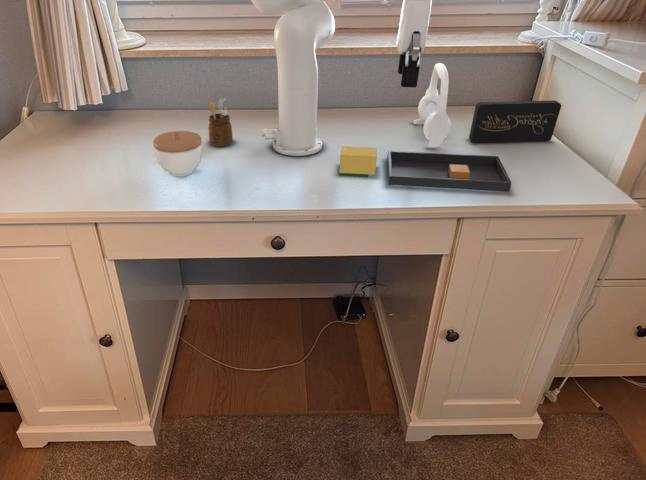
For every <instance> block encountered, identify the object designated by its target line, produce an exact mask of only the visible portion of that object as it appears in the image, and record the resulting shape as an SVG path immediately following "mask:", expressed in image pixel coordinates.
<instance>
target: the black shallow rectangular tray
mask: <svg viewBox="0 0 646 480" xmlns="http://www.w3.org/2000/svg"><path fill="white" fill-rule="evenodd" d="M386 161H387V163H386V164H387V182H388V183H387V184H388V186H403V187H419V188H438V189H452V190H453V189H454V190H469V191H470V190H471V191H486V192H487V191H489V192H504V193H505V192H506V193H507V192H508V193H509V192H510V190H511V186H512V181H511V179H510V177H509V175H508V173H507V170H506V169H505V167H504V165H503V163H502V160H501V159H500V156H498V155H483V154H482V155H481V154H480V155H479V154H462V153H461V154H460V153H441V152H420V151H419V152H418V151H402V150H401V151H400V150H399V151H398V150H387V158H386ZM449 164H454V165H467V166H468V168H469V171H470V175H469V179H460V178H450V176H449V172H448V168H449Z"/></svg>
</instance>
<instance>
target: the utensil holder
mask: <svg viewBox="0 0 646 480" xmlns="http://www.w3.org/2000/svg"><path fill="white" fill-rule="evenodd" d="M223 100H225V97H224V98H223V97H221V98H220V101H223ZM207 103H208V107H209V108H208V109H209V111H210V112H211V113H212V114H211V115H209V116H208V123H209V124H208V137H209V142H210V145H212V147H217V148H221V147H222V148H223V147H228V146H230V145H232V144H233V128H232V127H233V126H232V123H231V122H230V121H231V118H230V115H229V114H227V112H228V108H225V111H222V109H220V108H217V109H218V113H216V112H217V110H216V106H215V103H214V100H213V99H212V100H211V99H207ZM217 103H218V104H217V106H222V102H217Z"/></svg>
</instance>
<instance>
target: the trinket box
mask: <svg viewBox="0 0 646 480" xmlns="http://www.w3.org/2000/svg"><path fill="white" fill-rule="evenodd" d="M202 142H203V141H202V137H201V135H200V134H199V133H197V132H195V131H189V130H173V131H168V132H163V133H161V134H158V135H157V136H155V137H154V138H153V140H152V145H153V147H154V153H155V157H156V161H157V162H158V164H159V165H160V167H161V168H162V169H163V170H164V171H165V172H167V173H168V175H170V176H171V177H179V178H180V177H181V178H182V177H187V176H191V175H192V174H194V173H195V171H196V169H197V168H198V167H199V165H200V163H201V161H202V155H203V147H202V145H203V144H202Z"/></svg>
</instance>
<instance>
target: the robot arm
mask: <svg viewBox="0 0 646 480" xmlns="http://www.w3.org/2000/svg"><path fill="white" fill-rule="evenodd" d="M250 2H251V3H252V5H253V6H254V7H255V9H256V10H257V11H258V12H260V13H261V14H262V15H264V16H265V15H266V16H273V15H276V14H280V13H283V14H282V15H281V16H280V17H279V19H278V20H277V21H276V23H275V25H274V29H273V45H274V50H275V51H274V52H275V57H276V65H277V67H276V68H277V97H278V98H277V99H278V100H277V101H278V102H277V104H278V105H277V106H278V126H277V127H275V128H274V129H271V128H262V129H261V137H264V140H273V141H272V148H273V150H274V151H275V152H277V153H279V154H281V155H285V156H289V157H305V156H311V155H314V154H317V153H318V152H320V151H322V149H323V141H322V140H321V138H319V137H317V135H318V134H317V129H318V103H319V102H318V97H319V67H318V61H317V57H316V51H317V50H318V49H320V48H322V47H324V46H326V45H327V44H329V42H330V41H331V40H332V38H333V36H334V34H335V29H336V22H335V18H334V15H333V13H332V11H331V9H330V7H329V6H328V5H327V3H326V1H325V0H250ZM432 4H433V0H403V1H402V5H401V12H400V18H399V25H398V30H397V31H398V32H397V38H396V49H397V52H398V53H399V59H398V67H397V74H398V75H401V81H400V87H402V88H417V87H418V82H419V81H418V80H419V74H420V64H421V55H423V54H424V51H425V47H426V42H427V37H428V31H429V25H430V24H429V23H430V16H431V12H432Z"/></svg>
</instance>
